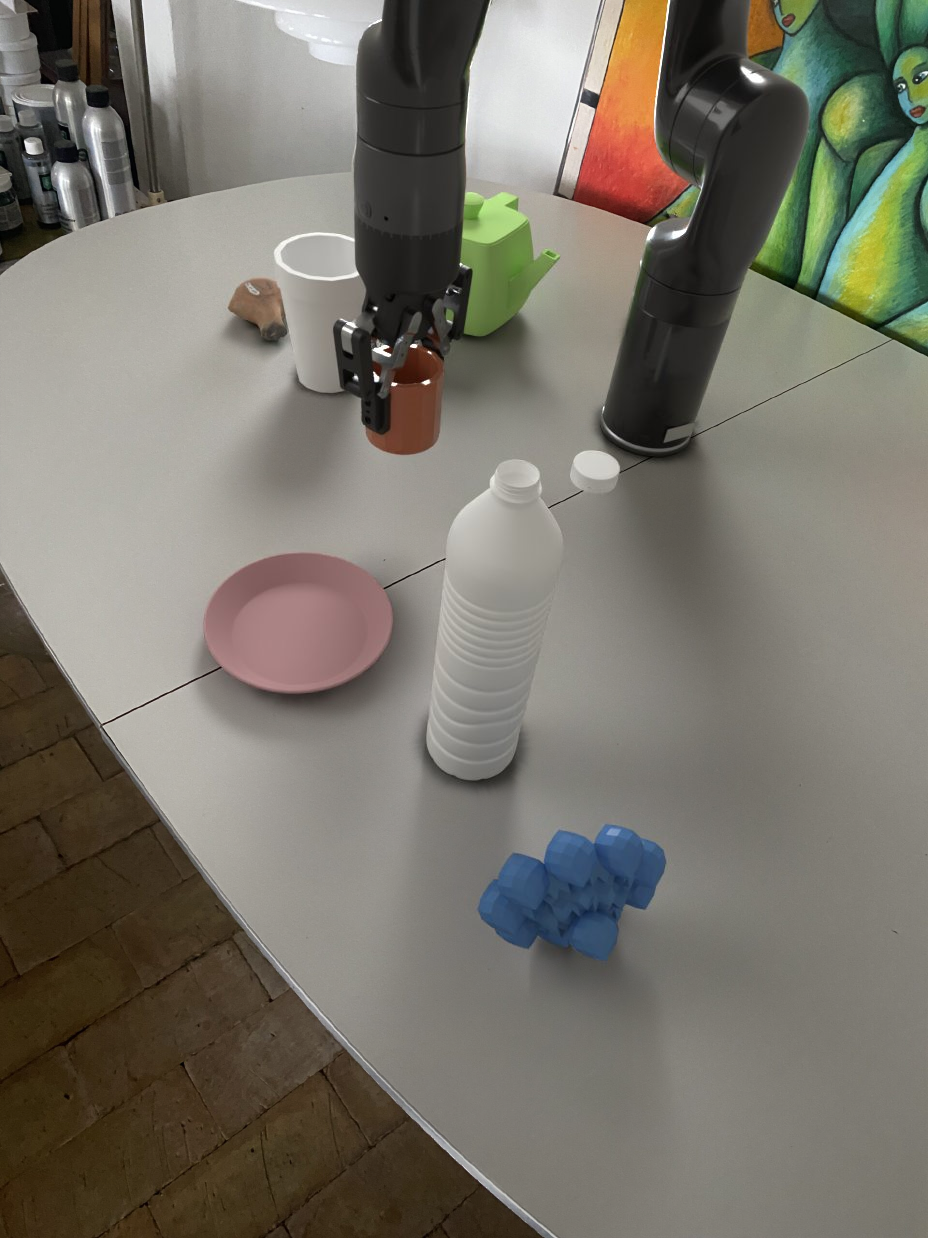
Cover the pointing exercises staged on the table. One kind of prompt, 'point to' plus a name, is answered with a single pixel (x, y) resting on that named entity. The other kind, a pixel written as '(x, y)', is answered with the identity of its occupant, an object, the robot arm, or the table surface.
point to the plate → (298, 622)
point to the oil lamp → (260, 306)
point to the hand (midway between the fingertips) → (403, 409)
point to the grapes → (574, 890)
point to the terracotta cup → (412, 403)
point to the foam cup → (318, 301)
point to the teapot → (498, 261)
